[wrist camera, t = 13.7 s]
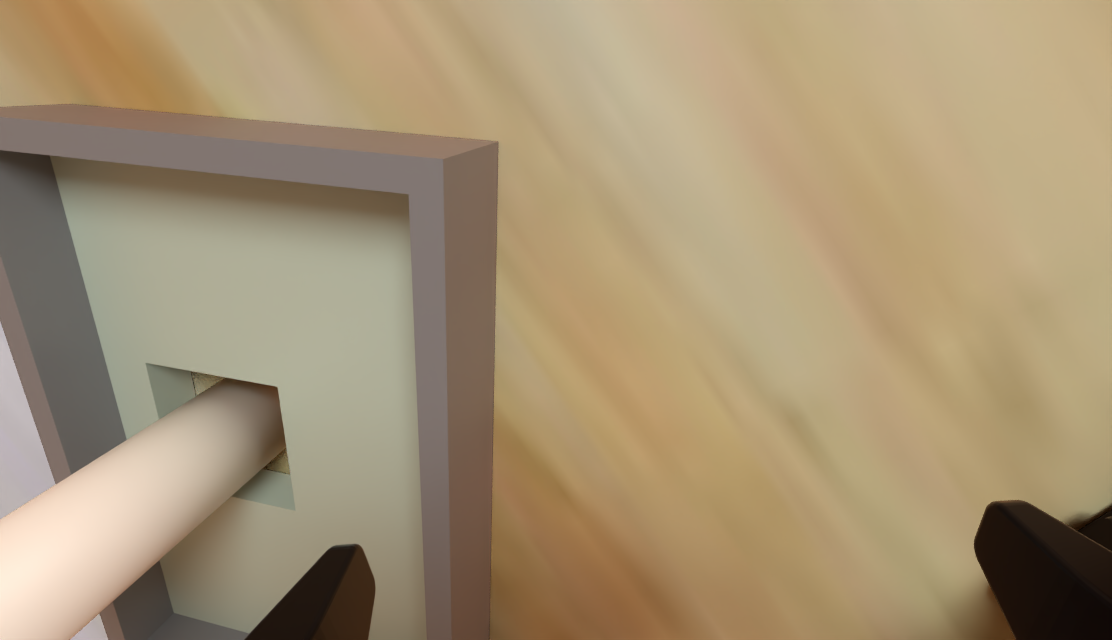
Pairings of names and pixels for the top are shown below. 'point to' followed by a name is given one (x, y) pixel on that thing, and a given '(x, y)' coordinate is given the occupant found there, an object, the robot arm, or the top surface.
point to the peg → (130, 509)
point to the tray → (267, 344)
